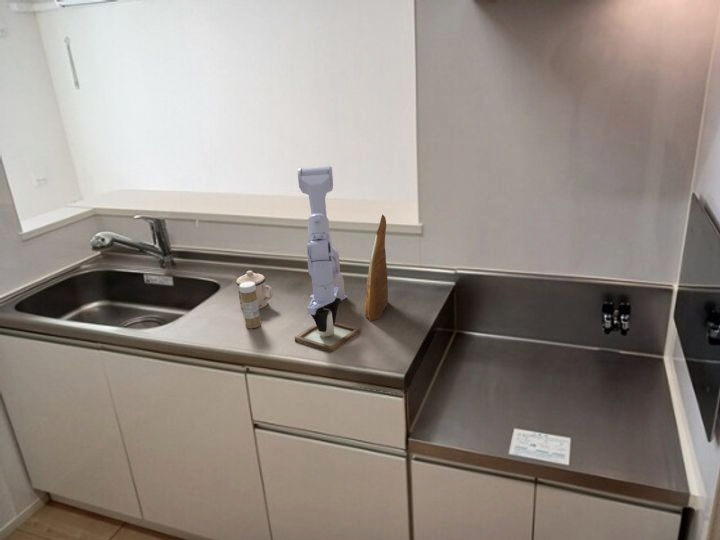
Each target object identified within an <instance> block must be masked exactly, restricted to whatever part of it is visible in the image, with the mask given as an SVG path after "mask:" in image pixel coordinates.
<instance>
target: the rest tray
mask: <svg viewBox="0 0 720 540" xmlns="http://www.w3.org/2000/svg"><path fill="white" fill-rule="evenodd" d="M333 325H334V333H333V334H332V335H330V336H320V335H319V332H318V328H317V325H316V323H314V324H313V325H312V326H310V327H309V328H307V329H305V330H304V331H302V332H301V333H299V334H298V335H296V336H294V341H295V342H297V343H301V344H303V345H306V346H309V347H312V348H316V349H318V350H321V351H325V352H329V353H333V352H334V351H336V350H338V349H339V348H340V347H342V346H343V345H344V344H346V343H347V342H349V341H350V340H352V339H353V338H355V337H356V336H357V335H359V334H360V333H361V330H360V328H358V327H354V326H351V325H347V324H344V323H340V322H338V321H337V322H336V321H335V324H333Z"/></svg>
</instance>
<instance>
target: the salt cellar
mask: <svg viewBox="0 0 720 540" xmlns="http://www.w3.org/2000/svg"><path fill="white" fill-rule="evenodd" d="M323 308H324V307H323ZM324 310H329V313H328V316H327V329H326V332H320V331H319V330H318V332H319V335H320V336H330V335H332V334H333V333H334V325H333V318H332V312H331V311H330V309H327V308H324Z"/></svg>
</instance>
